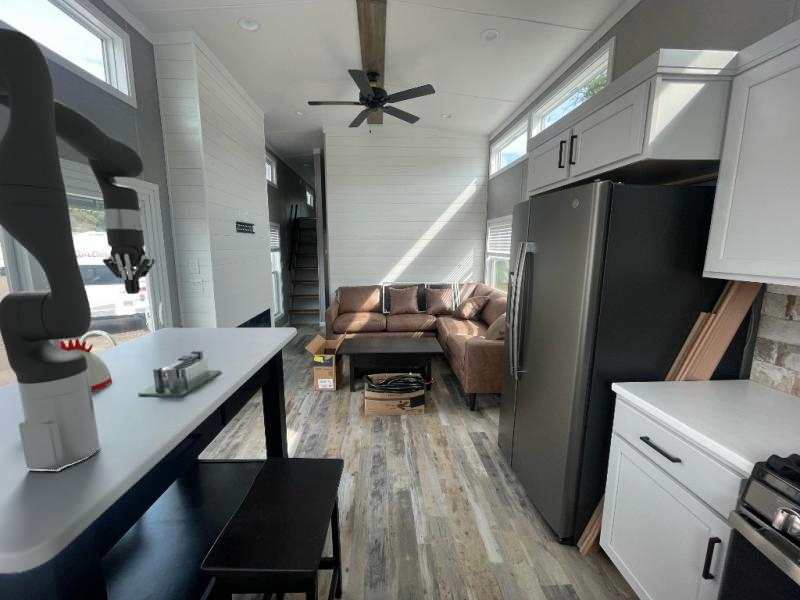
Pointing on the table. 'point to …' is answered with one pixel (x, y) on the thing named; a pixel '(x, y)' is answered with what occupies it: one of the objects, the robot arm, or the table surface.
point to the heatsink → (181, 378)
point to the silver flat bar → (179, 362)
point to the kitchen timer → (90, 364)
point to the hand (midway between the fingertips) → (133, 293)
